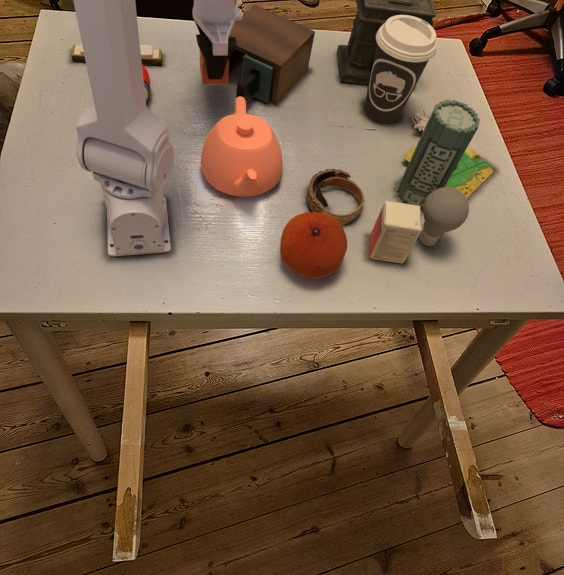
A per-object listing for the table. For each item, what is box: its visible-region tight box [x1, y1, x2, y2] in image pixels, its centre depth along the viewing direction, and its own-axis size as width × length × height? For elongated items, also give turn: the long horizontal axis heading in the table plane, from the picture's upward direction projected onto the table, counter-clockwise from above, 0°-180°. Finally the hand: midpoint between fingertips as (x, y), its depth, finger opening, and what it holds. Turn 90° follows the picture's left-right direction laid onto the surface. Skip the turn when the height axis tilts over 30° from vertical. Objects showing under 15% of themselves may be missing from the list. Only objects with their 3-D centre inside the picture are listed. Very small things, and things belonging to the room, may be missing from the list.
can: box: [397, 99, 481, 209], centre depth 74 cm, size 6×6×15 cm
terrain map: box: [402, 144, 496, 199], centre depth 84 cm, size 12×12×1 cm
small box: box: [368, 200, 423, 264], centre depth 70 cm, size 5×4×8 cm
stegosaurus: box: [411, 109, 430, 132], centre depth 88 cm, size 2×7×5 cm
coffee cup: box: [363, 15, 438, 125], centre depth 84 cm, size 10×10×15 cm
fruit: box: [279, 211, 348, 280], centre depth 68 cm, size 9×9×8 cm
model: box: [336, 0, 437, 85], centre depth 89 cm, size 14×9×15 cm, turn 93°
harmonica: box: [70, 42, 163, 66], centre depth 87 cm, size 15×3×2 cm, turn 96°
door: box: [235, 54, 273, 104], centre depth 83 cm, size 6×5×7 cm
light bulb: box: [419, 187, 470, 247], centre depth 71 cm, size 6×6×10 cm
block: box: [199, 49, 230, 85], centre depth 80 cm, size 4×4×4 cm
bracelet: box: [306, 168, 365, 225], centre depth 76 cm, size 9×9×3 cm
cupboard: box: [228, 4, 316, 106], centre depth 88 cm, size 12×12×8 cm
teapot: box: [200, 96, 284, 198], centre depth 74 cm, size 12×18×10 cm
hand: (213, 68), depth 81 cm, fingers closed on block, 4 cm apart
